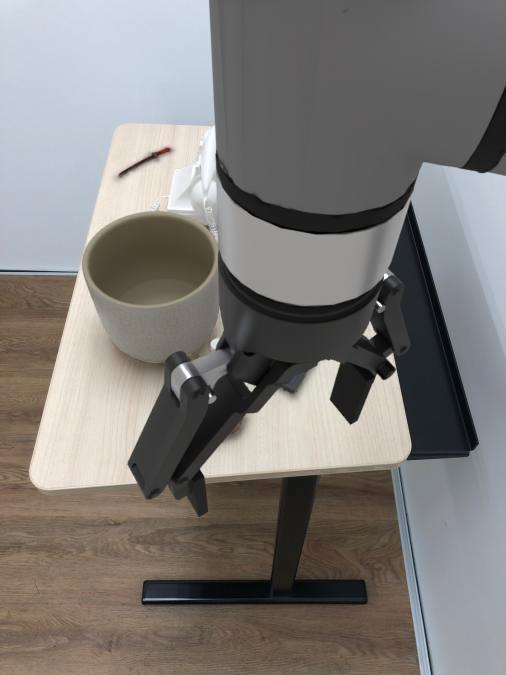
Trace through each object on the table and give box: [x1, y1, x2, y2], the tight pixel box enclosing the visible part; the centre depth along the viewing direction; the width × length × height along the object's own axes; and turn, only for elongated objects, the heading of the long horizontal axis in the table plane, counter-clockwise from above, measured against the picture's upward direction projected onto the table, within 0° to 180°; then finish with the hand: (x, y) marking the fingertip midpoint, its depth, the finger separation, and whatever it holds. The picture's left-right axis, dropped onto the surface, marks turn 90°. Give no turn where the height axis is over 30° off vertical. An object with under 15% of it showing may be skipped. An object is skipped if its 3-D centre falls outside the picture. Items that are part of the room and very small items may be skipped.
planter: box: [81, 210, 220, 364], centre depth 73 cm, size 17×17×15 cm
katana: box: [118, 147, 171, 177], centre depth 102 cm, size 13×2×1 cm, turn 139°
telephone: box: [149, 124, 218, 243], centre depth 88 cm, size 25×21×12 cm
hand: (273, 452), depth 41 cm, fingers open, 13 cm apart
